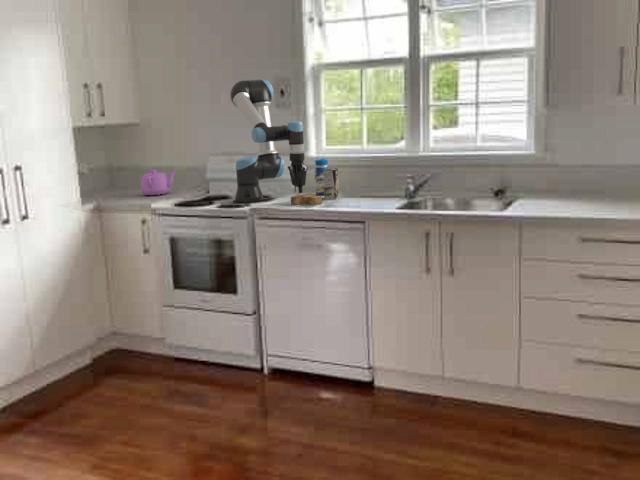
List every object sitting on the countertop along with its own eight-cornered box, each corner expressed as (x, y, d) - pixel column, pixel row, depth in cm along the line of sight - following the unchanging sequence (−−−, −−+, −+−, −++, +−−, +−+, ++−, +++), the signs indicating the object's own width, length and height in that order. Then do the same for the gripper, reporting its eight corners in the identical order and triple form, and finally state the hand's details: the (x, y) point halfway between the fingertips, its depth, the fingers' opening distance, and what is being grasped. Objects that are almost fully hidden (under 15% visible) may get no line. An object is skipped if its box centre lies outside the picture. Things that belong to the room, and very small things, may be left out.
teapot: (136, 198, 398) (133, 172, 395) (146, 193, 419) (144, 168, 415) (174, 196, 397) (171, 171, 394) (183, 191, 417) (180, 167, 414)
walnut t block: (291, 204, 338) (290, 196, 338) (310, 201, 347) (309, 193, 346) (309, 207, 329) (308, 198, 328) (328, 203, 337) (327, 195, 336)
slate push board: (273, 205, 344) (273, 203, 344) (300, 200, 356) (300, 198, 356) (307, 209, 326) (307, 208, 326) (334, 204, 338) (334, 202, 337)
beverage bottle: (332, 194, 371) (330, 158, 367) (329, 197, 363) (328, 159, 359) (316, 195, 372) (315, 158, 368) (314, 197, 364) (312, 160, 360)
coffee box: (336, 201, 348) (335, 170, 344) (324, 201, 349) (322, 170, 346) (339, 198, 357) (338, 168, 353) (327, 198, 358) (326, 168, 354)
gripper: (282, 153, 340) (285, 199, 345) (299, 153, 331) (302, 201, 336) (293, 151, 345) (296, 197, 350) (311, 152, 335) (313, 199, 340)
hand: (299, 199), depth 343 cm, fingers closed
